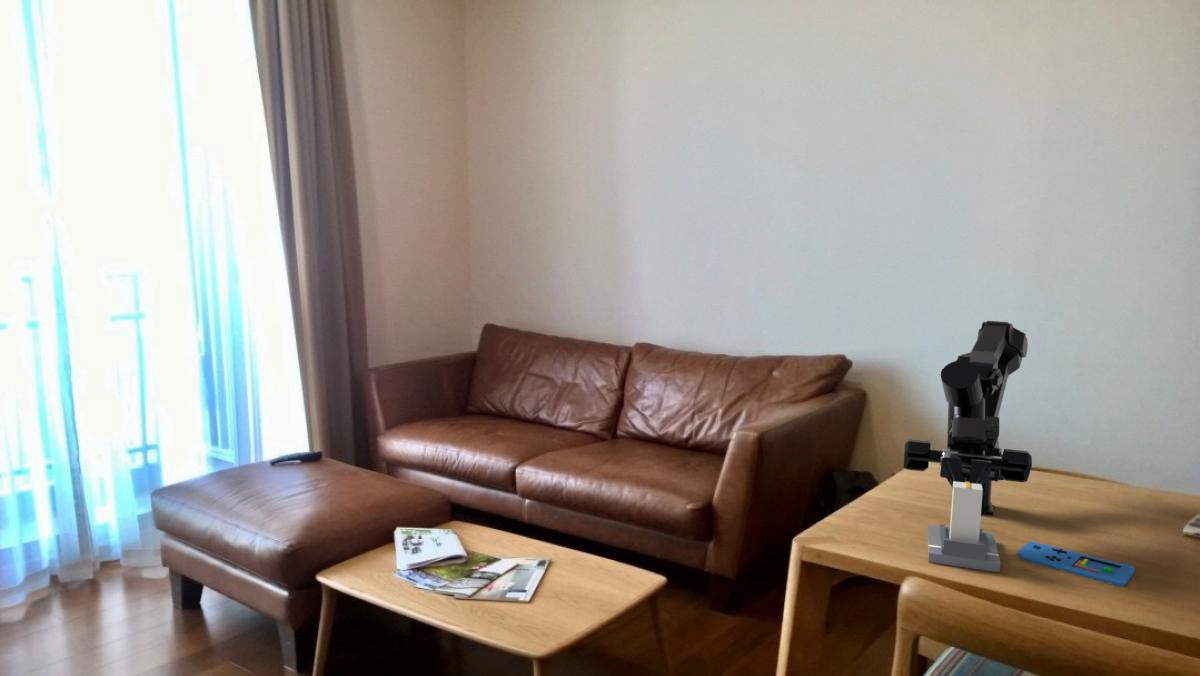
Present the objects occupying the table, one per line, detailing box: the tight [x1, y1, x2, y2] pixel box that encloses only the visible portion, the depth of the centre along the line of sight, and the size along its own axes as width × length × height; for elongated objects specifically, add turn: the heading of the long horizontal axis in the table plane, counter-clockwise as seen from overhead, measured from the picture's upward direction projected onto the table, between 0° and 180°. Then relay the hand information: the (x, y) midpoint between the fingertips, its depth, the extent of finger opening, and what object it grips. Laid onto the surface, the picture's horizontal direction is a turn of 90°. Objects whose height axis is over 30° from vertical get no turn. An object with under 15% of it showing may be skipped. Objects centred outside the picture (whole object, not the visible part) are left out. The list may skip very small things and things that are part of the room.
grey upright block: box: [949, 481, 983, 543], centre depth 129 cm, size 3×4×10 cm
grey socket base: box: [926, 523, 1001, 573], centre depth 132 cm, size 13×10×4 cm
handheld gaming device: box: [1016, 541, 1136, 587], centre depth 128 cm, size 8×1×15 cm
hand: (964, 507), depth 130 cm, fingers closed, pressing on grey upright block
